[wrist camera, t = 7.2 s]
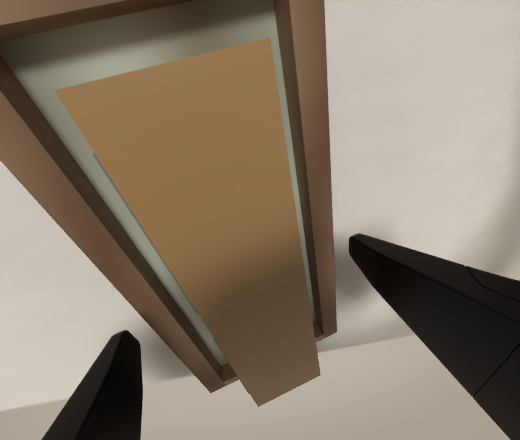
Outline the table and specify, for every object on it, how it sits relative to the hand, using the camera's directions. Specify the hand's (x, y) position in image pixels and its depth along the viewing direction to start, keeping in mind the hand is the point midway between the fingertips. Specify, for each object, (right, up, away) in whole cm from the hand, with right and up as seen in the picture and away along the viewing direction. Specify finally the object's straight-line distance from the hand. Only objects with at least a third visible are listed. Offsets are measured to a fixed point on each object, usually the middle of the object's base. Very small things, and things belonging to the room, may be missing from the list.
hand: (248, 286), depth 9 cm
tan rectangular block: (-1, +1, +2) cm, 2 cm away
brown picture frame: (-1, +2, +4) cm, 4 cm away
